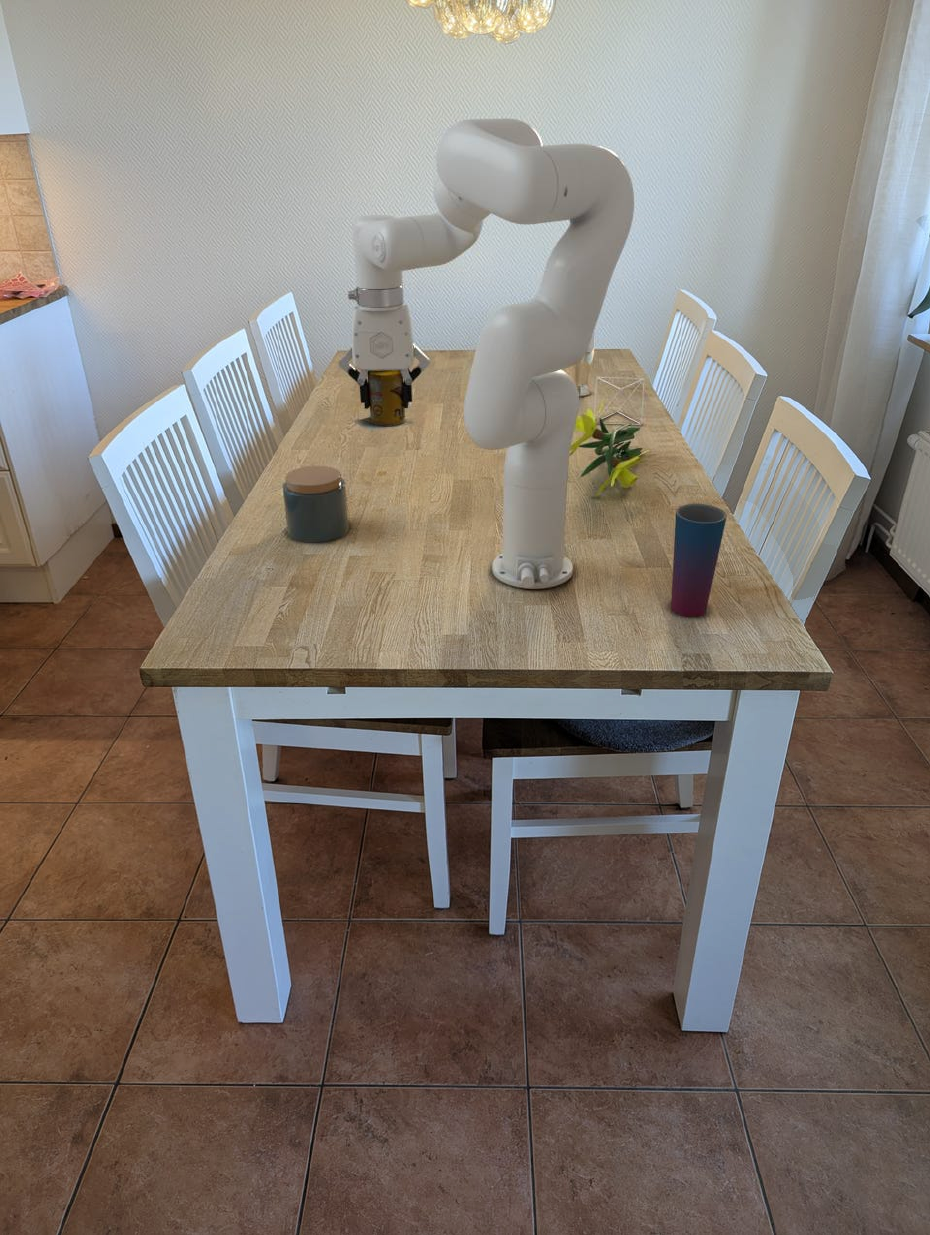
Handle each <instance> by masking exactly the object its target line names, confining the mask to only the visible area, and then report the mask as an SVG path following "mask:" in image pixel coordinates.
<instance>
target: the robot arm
mask: <svg viewBox="0 0 930 1235" xmlns="http://www.w3.org/2000/svg"><path fill="white" fill-rule="evenodd" d="M435 164H436V166H435V167H436V170H437V176H436V178H435V180H434V183H433V198H434V202H435V205H436V208H437V210H438V211H437V212H435V213H432V214H420V215H413V216H404V217H395V216H393V215H388V214H367V215H361V216H357V217H356V219H354V221H353V223H352V241H353V242H352V243H353V255H354V270H355V283H356V287H355V289H352V290H348V291H347V297H348V300H352V301H355V303H356V305H355V306H354V307H353V309H352V316H351V346H350V348H348V350H347V351H346V352H345V353H344V355H343V356H342V357H341V358H340V359H339V361H338V366H339V367H340V368H341V369H342V370H343V371H344V372H346V373H347V375H349V377H350V378H351V379H353V381H355V383H356V384H357V385H358V386H359V397H360V403H361V404H363V405H364V409H365V410H368V409H370V402H369V387H368V374H367V373H368V371H381V370H400V372H401V374H402V376H403V386H402V388H403V407H404V408H405V409H408V408H409V404H410V403H412V402H413V388H412V386H413V385H412V384H413V383H414V382H415V380H416V379H417V378H418V377H419V376H420V375H421V374H422V372H424V371H425V370H426V369H427V367H428V366H430V364H431V360H430V358H429V357H428V356H427V355H426V354H425V353H424V351H422V350H421V349H420V348H419V347H418V346H417V345H416V344H415V342H414V334H413V333H414V332H413V326H412V320H411V314H410V310H409V306H408V304H405V303H404V302H405V301H404V300H405V299H404V286H403V285H404V283H403V282H404V281H403V272H404V271H405V272H406V271H412V270H416V269H423V268H433V267H437V266H438V267H439V266H443V265H446V264H448V263H450V262H453V261H454V260H456V259H457V258H458V257H459V256H461V255H462V254H463V253H465V252H466V251H468V250H469V249H470V248H472V246H473V245H475V244H476V243H477V241H478V239H479V237H480V234H481V232H482V230H483V225H484V220H485V219H486V218H488V217H489V216H490V215H491V214H492V215H493V216H496V217H498V218H500V219H502V220H504V221H507V222H509V223H513V224H517V225H538V224H546V223H555V222H563V221H569V225H568V228H567V229H566V230H565V232H564V233H563V235H562V236H561V237H560V238H559V240H558V241H557V242H556V244H555V246H554V247H553V249H552V250H551V252H550V254H549V256H548V258H547V261H546V263H545V267H544V271H543V276H542V279H541V282H540V283H539V284H540V285H539V287H538V290H537V292H536V294H535V295H534V297H533V298H531V299H530V300H527V301H522V302H515V303H512V304H511V303H510V304H507V305H505V306H503V307H500V308H498V309H497V310H496V311H494V312H493V313H492V314H491V315H490V316H489V317H488V319H487V320H486V322H485V323H484V325H483V327H482V328H481V332H480V334H479V337H478V340H477V345H476V349H475V353H474V357H473V361H472V365H471V369H470V373H469V378H468V382H467V385H466V386H467V387H466V391H465V395H464V400H463V411H462V412H463V414H462V415H463V423H464V428H465V430H466V433H467V435H468V436H469V439H470V440H471V441H472V442H473V443H474V444H475V445H476V446H477V447H479V448H482V449H483V450H488V451H497V450H503V449H507V450H506V454H505V458H504V464H503V492H502V493H503V495H502V496H503V499H502V501H503V502H502V503H503V504H502V553H500V554H499V555H497V556H496V557H495V558H494V559H493V561H492V563H491V564H492V566H491V569H492V570H491V571H492V574H493V576H494V577H495V578H496V579H498V580H499V581H500V582H502V583H503V584H505V585H508V586H511V587H515V588H521V589H527V590H528V589H530V590H543V589H549V588H554V587H557V586H560V585H562V584H564V583H566V582H568V580H569V579H571V578H572V576H573V573H574V564H573V562H572V560H570V558H568V557H567V556H566V555H564V553H565V537H566V535H565V534H566V518H567V516H566V515H567V499H568V498H567V496H568V480H569V468H570V457H571V455H570V453H571V451H570V447H571V445H572V439H573V436H574V433H575V432H574V431H575V429H574V428H575V425H576V421H577V416H579V409H580V396H579V395H578V390H577V387H576V385H575V383H574V381H573V379H572V378H571V377H570V376H569V375H568V374H567V371H564V370H565V369H567V368H568V367H571V366H573V365H575V364H577V363H578V362H580V361H581V360H582V358H583V357H584V355H585V354H586V352H587V349H588V347H589V344H590V341H591V338H592V335H593V332H594V333H595V329H596V326H597V323H598V320H599V317H600V315H601V311H602V308H603V305H604V302H605V299H606V297H607V293H608V289H609V286H610V282H611V280H612V276H613V274H614V271H615V269H616V266H617V264H618V261H619V259H620V257H621V255H622V253H623V250H624V247H625V245H626V242H627V240H628V237H629V234H630V232H631V228H632V224H633V220H634V213H635V193H634V188H633V181H632V179H631V176H630V173H629V171H628V168H627V167H626V165H625V164H624V162H623V160H622V159H621V158H620V157H619V156H618V155H617V154H616V153H615V152H614V151H612V150H611V149H609V148H606V147H604V146H601V145H597V144H592V143H563V144H562V143H561V144H548V145H545V144H544V145H543V142H542V139H541V136H540V135H539V133H538V132H537V131H536V130H535V129H534V127H533V126H531V125H530V124H528V123H527V122H524V121H522V120H519V119H516V118H507V117H506V118H472V119H463V120H460V121H457V122H455V123H454V124H452V125H451V126H450V127H448V128H447V129H446V131H445V132H444V133H443V135H442V137H441V138H440V140H439V143H438V146H437V149H436V156H435ZM415 359H416V360H418V362H419V363H418V364H417V365H415V367H413V369H412V370H411V369H410V368H412V366H413V365H414V360H415ZM351 360H352V364H353V365H352V364H351V363H350V361H351Z"/></svg>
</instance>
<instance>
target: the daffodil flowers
mask: <svg viewBox="0 0 930 1235" xmlns="http://www.w3.org/2000/svg"><path fill="white" fill-rule="evenodd" d="M604 401H605V398H604V397H603V398H602V401H601V404H600V407H599V409H598V413H597V415H596V419H595V420H596V421H595V420H594V411H592V409H590V408H587V409H586V414H584V413H582V414H581V416H580V415H578V416H577V421H576V425H575V428H574V430H576V431H578V432H581V433H584V434H583V435H581V436H580V438H578V439H576V440H575V441H573V443H571V447H570V456H572V455H573V454H574V453H575V452H576V451H577V450H578V448H582V449H583V448H584V449H594V453H595V454H596V455H597V456H598V457H597V458H595V459H594V460H592V461H591V462H590V463H589V464H588V465H587V466H586V468H585V469H584V470H583V472H582V473H581V475H580V478H582V477H584V476H586V475H588V474H589V473H591V472H592V471H594V470H595V469H596V468H598V467H599V466H601V465H602V464H604V463H605V462H606V466H607V474H608V478H607V479H605V481H604V482H603V483H602V484H601V485H600V487H599V489H598V491H597V494H596V496H595V498H597V497H598V496H599V495H600V494H601V493H602V492H603V491H604V490H605V488H606V487H607V486H608V485H609V484H610V488H612V487H613V486H614V485H615V480H617V482H618V483H619V484H620V485H621V486H622V487H624V488H626V489H628V488H631V487H632V486H633V485H635V483H637V481H639V476H637V475H636V474H634V473H633V472H632V471H630V470H629V468H632V467H634V466H637V465H638V464H644V463H647V462H649V461H650V460H649V459H648V460H647V459H643V460H642V459H641V460H638V459H640V456H641V455H644V454H645V453H647V452H649V451H650V449H647V450H645V451H643V452H642V450H643V449H644V448H643V447H636V448H632V449H631V448H630V445H631V443H632V440H634V439H635V433H637V432H638V431H639V430H641V428H640V427H635V426H633V425H632V424H633V423H626V425H624V424H622V425H621V426H620V427H617V428H616V429H614V430H612V431H611V432H609V430H608V429H607V427H606V424H604V423H605V422H603V419H602V418H601V417H599V418H598V416H599V415H600V414H601V412H602V409H603V406H604ZM601 419H602V420H601ZM598 420H600V421H599V423H600V424H599V426H600V429H599V428H597V425H598V424H597V421H598ZM630 426H631V427H630ZM590 438H593V439H595V440H596V441H590V442H585V441H588V440H589V439H590ZM626 441H627V442H626ZM584 442H585V443H584ZM582 443H583V444H582ZM604 447H606V448H604ZM652 449H654V448H651V450H652ZM625 457H628V458H630V459H629V460H624V461H622V458H625Z"/></svg>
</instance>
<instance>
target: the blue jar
mask: <svg viewBox="0 0 930 1235" xmlns="http://www.w3.org/2000/svg"><path fill="white" fill-rule="evenodd" d="M284 478H285V479H284V480H285V482H284V483H282V494H283V503H284V513H285V521H286V531H287V535H288V536H289V537H290V538H291V539H293V540H294V541H298V542H302V543H309V544H311V543H313V544H314V543H316V544H318V543H326V542H331V541H335V540H337V539H340V538H342V537H344V536H345V535H346V534H347V533H348V531H349V518H348V516H349V515H348V505H347V502H348V501H347V491H346V489H347V488H346V481H345V480H344V479H343V477H342V473H341V471H340V470H338V469H337V468H335V467H332V466H327V465H308V466H302V467H297V468H295V469H292V470H290V471H289V472H287V473H286V474H285V476H284Z"/></svg>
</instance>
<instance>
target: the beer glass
mask: <svg viewBox="0 0 930 1235" xmlns="http://www.w3.org/2000/svg"><path fill="white" fill-rule="evenodd" d="M594 354H595V331H594V332H593V335H592V338H591V341H590V344H589V347H588V349H587V352H586V354H585V355H584V357H583V358H582V360H581V361H580V362H578V363H577V364H575V365H573V366H571V367H568V368H566V373H567V374H568V375H569V376H570V377H571V378H572V379H573V381H574V383H575V385H576V387H577V390H578V395H579V397H587V396H589V395H590V392H591V391H590V382H589V381H590V373H591V369H592V365H593V360H594V356H595V355H594Z"/></svg>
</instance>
